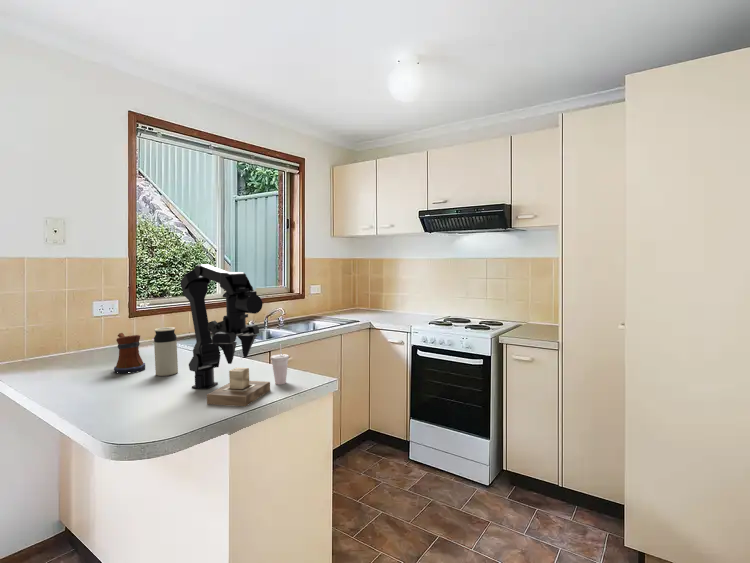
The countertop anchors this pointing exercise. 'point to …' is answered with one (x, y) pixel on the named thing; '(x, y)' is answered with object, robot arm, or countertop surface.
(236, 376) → the peg
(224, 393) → the board
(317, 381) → the countertop surface
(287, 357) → the smoothie
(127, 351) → the mug
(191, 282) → the robot arm
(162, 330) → the travel mug
